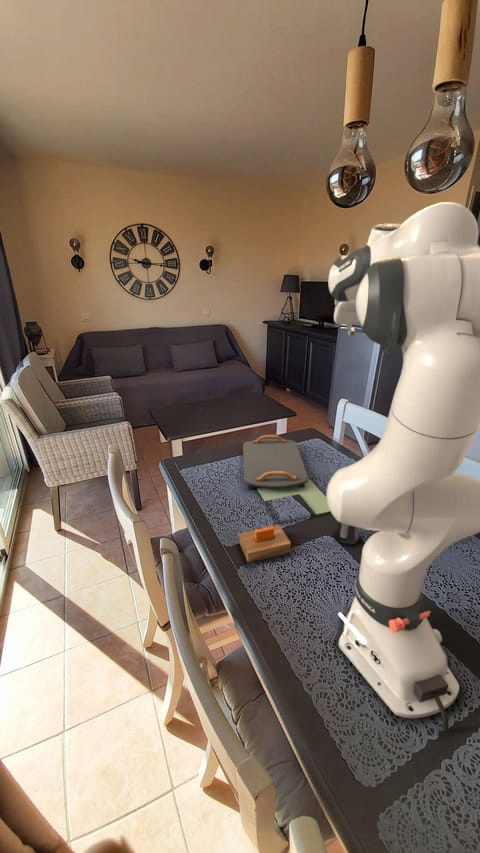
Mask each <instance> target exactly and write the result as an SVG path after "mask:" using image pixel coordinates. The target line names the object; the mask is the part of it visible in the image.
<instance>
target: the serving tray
mask: <svg viewBox="0 0 480 853" xmlns="http://www.w3.org/2000/svg"><path fill="white" fill-rule="evenodd" d="M242 455H243V458H242V465H243V466H242V472H243V473H242V474H243V483H244V484H246V485H247V488H248V489H249V490H252V489H253V488H254V487H289V486H294V485H299V486H300V487H304V486H305V483H306V482H308V481H309V479H310V478H309V476H308V472H307V470H306V467H305V464H304V461H303V458H302V455H301V452H300V449H299V446H298V443H297V442H296V441H295V440H292V439H283V438H282V437H281V436H280V435H276V434H264V435H261V436H259V437H258V438H257V439H254V440H249V441H245V442H244V443H243V444H242ZM308 478H309V479H308Z"/></svg>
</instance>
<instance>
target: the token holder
mask: <svg viewBox="0 0 480 853" xmlns="http://www.w3.org/2000/svg"><path fill="white" fill-rule="evenodd" d="M271 526H272V527H273V528H274V539H271V540H267V541H263V542H258V543H256V542H255V530H256V529H253V530H250V531H246V532H240V533H238V543H239V544H240V547H241V550H242V552H243V554H244V556H245V560H246V561H247V563H253V562H257V561H260V560H264V559H268V558H272V557H275V556H281V555H284V554H289V553H291V552H292V551H291V549H292V543H291V541H290V539H289V537H288V536H287V535H286V533H285V531H284V530H283V528H282V527H281V525H280V524H276V525H271Z"/></svg>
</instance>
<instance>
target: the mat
mask: <svg viewBox="0 0 480 853" xmlns="http://www.w3.org/2000/svg"><path fill="white" fill-rule="evenodd" d="M308 479H309V481H308V482H306V483H305V486H304V487H300V486H299V485H294V486H289V487H261V486H259V487H256V490H257V492H258V493H259V495H260V496H261V498H262V499H263V501H264V502H267V501H273V500H277V499H283V498H287V497H292V496H296V495H299V496H300V497H301V498H302V500H303V501H304V502H305V503H306V505H308V507H309V508H310V509H311V510H312V512H313V513H314V514H315V515H316V516H319V515H323V514H328V513H331V511H330V509H329V507H328V503H327V497H326V495H325V494H324V493H323V492H322V491H321V490H320V489H319V488H318V486H316V484H315V483H314V482H313V481H312V480H311V479H310V478H309V477H308Z"/></svg>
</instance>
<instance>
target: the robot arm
mask: <svg viewBox="0 0 480 853" xmlns="http://www.w3.org/2000/svg"><path fill="white" fill-rule="evenodd" d="M478 237H479V227H478V222H477V219H476V217H475V215H474V214H473V212H472V211H471V210H470V209H469V208H467V207H466V206H465V205H463V204H461V203H457V202H453V201H443V202H442V201H441V202H438V203H435V204H432V205H429V206H427V207H426V206H425V207H424V208H423V209H420V210H418V211H417V212H416V213H414V214H412V215H410V216H409V217H408V218H407V219H406V220H404V221H403V222H402V223H398V222H397V223H396V222H385V223H379V224H376V225H374V226H373V227H372V228H371V231H370V233H369V236H368V240H367V242H366V245H364V246H361V247H360V248H357V249H356V250H354V251H352V252H351V253H350V254H348V255H340V256H339V257H337V258H336V259H335V261H333V263H332V264H331V267H330V270H329V273H328V280H327V284H328V291H329V294H330V295H331V297H332V298H333V299H334V306H335V307H334V312H333V322H334V323H335V324H336V325H345V326H346V329H347V330H348V331H347V335H348V336H349V337H352V336H353V337H354V336H355V327H352V326H353V325H359V327H360V329H361V330H362V331H363V333H364V334H365V336H367V338H368V339H369V340H370V341H372V342H374V343H376V344H377V345H379V346H381V352H382V353H385V354H386V355H390V354H391V353H392V352H393V350H394V349H395V346H399V347H400V349H401V353H402V367H401V371H400V375H399V379H398V381H397V384H396V388H395V389H394V393H393V397H392V401H391V405H390V409H389V413H388V416H387V421H386V423H385V426H384V429H383V432H382V435H381V437H380V440H379V441H378V443H377V444H376V445H375V446H374V448H372V449H371V451H369V453H367V454H366V455H365V456H363V457H362V458H360V459H359V460H358V461H356V462H354V463H352V464H350V465H347V466H344V467H341V468H339V469H338V470H337V471H335V472H334V473H333V475H332V476H331V478H330V479H329V481H328V484H327V487H326V495H325V496H326V497H327V503H328V507H329V509H330V511H331V512H330V513H331V515H332V516H333V517H334V519H335V520H336V521H337V522H338V523H339V522H340V523H344V524H347V525H350V526H354V527H357V528H358V529H361V530H365V531H366V530H367V531H377V532H375V533H373V534H372V535H370V536H369V538H368V539H367V540H366V541H365V542H364V544H363V547H362V549H361V550H362V551H361V556H360V557H361V559H360V563H359V564H360V565H359V569H358V571H357V573H356V577H355V581H354V597H353V600H352V603H351V606H350V609H349V611H348V613H347V615H346V616H344V615H343V613H342V612H338V616H339V617H340V619H341V620H342V621H343V631H342V633H341V635H340V638H339V640H338V647H339V649H340V650H341V651H342V653H343V654H344V656H346V657H347V659H348V660H349V661H350V663H352V665H353V666H354V667H355V668H356V670H357V671H358V672H359V673H360V674H361V676H362V677H363V678H364V679H365V681H366V682H367V683H368V684H369V686H371V688H372V689H373V690H374V691H375V692H376V694H377V695H378V696H379V697H380V698H381V700H382V701H383V702H384V704H385V705H386V706H387V707H388V708H389V710H390V711H391V712H392V713H393V714H394V715H395V716H398V717H401V718H406V719H422V718H426V717H430V716H433V715H435V714H438V713H440V715H441V719H442V720H441V722H442V723H441V724H442V730H444V731H445V732H447V731H449V719H448V714H447V711H446V709H447V708H449V707H450V706H451V705H452V704H453V703H454V702H455V701H456V700H457V698H458V695H459V692H460V684H459V682H458V681H457V679H456V677H455V676H454V674H453V672H452V671H451V669H450V667H449V666H448V659H447V656H446V653H445V651H444V649H443V647H442V645H441V643H442V642H443V637H442V634H441V631H439V630H438V629H437V628H433V627H432V626H431V625H432V624H430V621H429V620H428V618H429V617H430V616H431V615H430V613H431V612H432V611H431V610H427V611H426V610H425V602H424V595H423V590H422V588H423V585H424V581H425V578H426V576H427V572H428V570H429V568H430V566H431V564H432V563H433V562H434V560H436V558H437V557H438V556H440V555H441V554H442V553H443V552H444V551H445V550H446V549H448V548H449V547H450V546H452V545H454V544H455V543H457V542H459V541H461V540H463V539H466V538H468V537H471V536H474V535H477V534H479V533H480V480H479V479H477V478H475V477H474V476H470V475H466V474H462V473H458V472H456V471H457V470H458V469H459V468H460V467H461V465H462V464H463V463H464V460H465V457H466V456H467V453H468V451H469V449H470V447H471V444H472V442H473V440H474V439H475V435H476V434H477V431H478V429H479V427H480V245H479V243H478V239H479V238H478Z"/></svg>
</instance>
